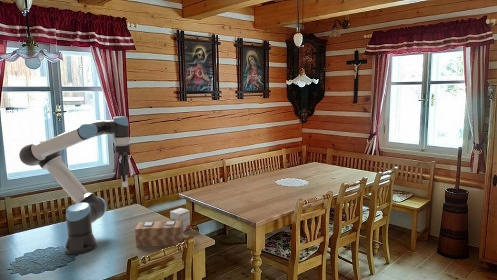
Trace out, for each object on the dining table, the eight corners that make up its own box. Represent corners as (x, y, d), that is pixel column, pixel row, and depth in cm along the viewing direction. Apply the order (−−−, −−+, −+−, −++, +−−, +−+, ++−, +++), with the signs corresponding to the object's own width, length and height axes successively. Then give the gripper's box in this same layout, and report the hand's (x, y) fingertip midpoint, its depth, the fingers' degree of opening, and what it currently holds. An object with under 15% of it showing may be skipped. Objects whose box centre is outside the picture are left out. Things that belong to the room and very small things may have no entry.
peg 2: (167, 240, 192) (166, 224, 191) (168, 237, 196) (167, 221, 194) (174, 240, 192) (173, 224, 191) (175, 237, 196) (174, 221, 195)
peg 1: (144, 241, 191) (143, 225, 190) (146, 238, 195) (145, 222, 194) (152, 241, 191) (151, 224, 190) (153, 238, 195) (152, 222, 194)
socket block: (136, 246, 188) (135, 228, 187) (140, 238, 198) (139, 222, 196) (181, 244, 190) (180, 227, 188) (183, 237, 199) (182, 220, 198)
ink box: (181, 225, 217) (180, 207, 215) (190, 228, 212) (190, 209, 210) (170, 229, 211) (169, 210, 209) (179, 233, 205) (178, 213, 203)
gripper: (126, 146, 185) (128, 189, 188) (132, 142, 198) (134, 183, 201) (111, 146, 184) (114, 190, 188) (118, 143, 197) (121, 183, 200)
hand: (125, 186), depth 194 cm, fingers closed
